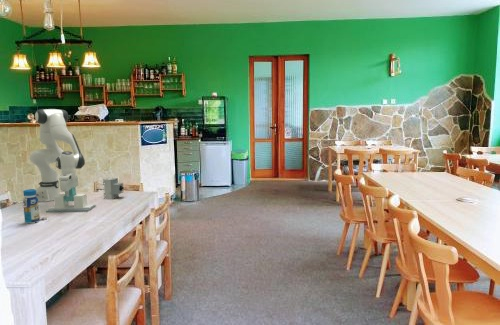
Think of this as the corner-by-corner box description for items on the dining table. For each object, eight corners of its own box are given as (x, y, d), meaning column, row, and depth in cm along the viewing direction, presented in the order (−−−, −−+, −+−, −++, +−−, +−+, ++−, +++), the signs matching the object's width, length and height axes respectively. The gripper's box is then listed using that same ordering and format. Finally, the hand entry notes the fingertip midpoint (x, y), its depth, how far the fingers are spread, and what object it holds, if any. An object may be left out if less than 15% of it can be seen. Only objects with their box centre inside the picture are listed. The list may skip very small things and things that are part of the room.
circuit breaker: (120, 199, 303) (119, 179, 301) (104, 198, 306) (102, 179, 304) (125, 197, 310) (124, 178, 308) (109, 196, 313) (108, 177, 311)
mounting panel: (46, 212, 267) (44, 197, 265) (55, 207, 281) (54, 193, 279) (88, 211, 267) (86, 196, 266) (95, 206, 281) (94, 192, 280)
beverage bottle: (25, 221, 246) (22, 189, 243) (40, 219, 249) (38, 188, 247) (23, 224, 238) (20, 192, 236) (39, 222, 242) (36, 190, 239)
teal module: (65, 201, 270) (64, 188, 269) (69, 199, 276) (68, 186, 275) (73, 201, 270) (72, 188, 269) (76, 199, 276) (75, 186, 275)
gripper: (70, 173, 281) (72, 192, 283) (57, 178, 261) (59, 198, 263) (79, 172, 281) (81, 192, 283) (67, 177, 261) (68, 198, 263)
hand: (70, 195), depth 273 cm, fingers closed on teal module, 5 cm apart
